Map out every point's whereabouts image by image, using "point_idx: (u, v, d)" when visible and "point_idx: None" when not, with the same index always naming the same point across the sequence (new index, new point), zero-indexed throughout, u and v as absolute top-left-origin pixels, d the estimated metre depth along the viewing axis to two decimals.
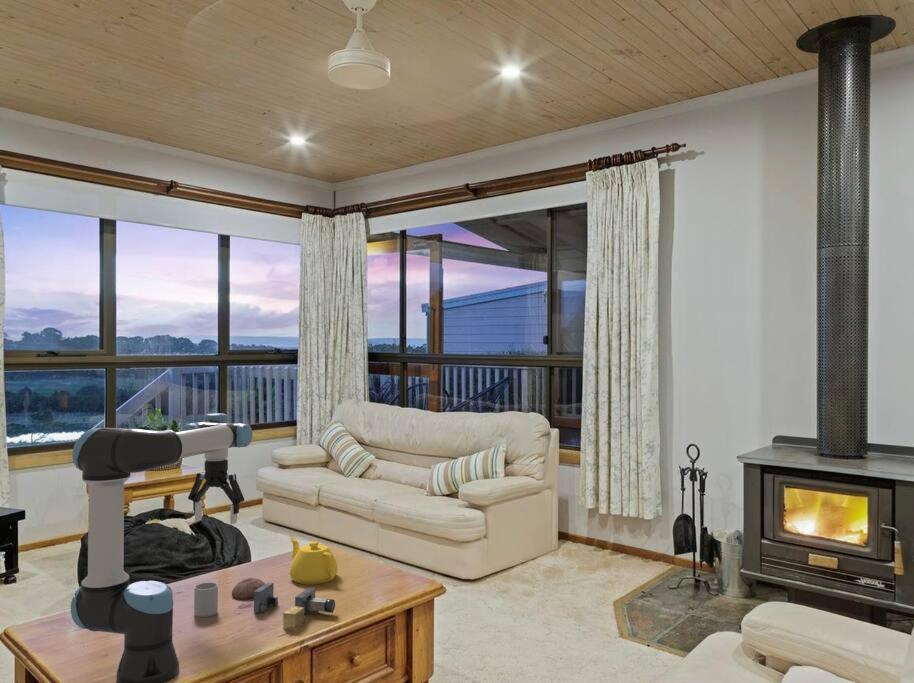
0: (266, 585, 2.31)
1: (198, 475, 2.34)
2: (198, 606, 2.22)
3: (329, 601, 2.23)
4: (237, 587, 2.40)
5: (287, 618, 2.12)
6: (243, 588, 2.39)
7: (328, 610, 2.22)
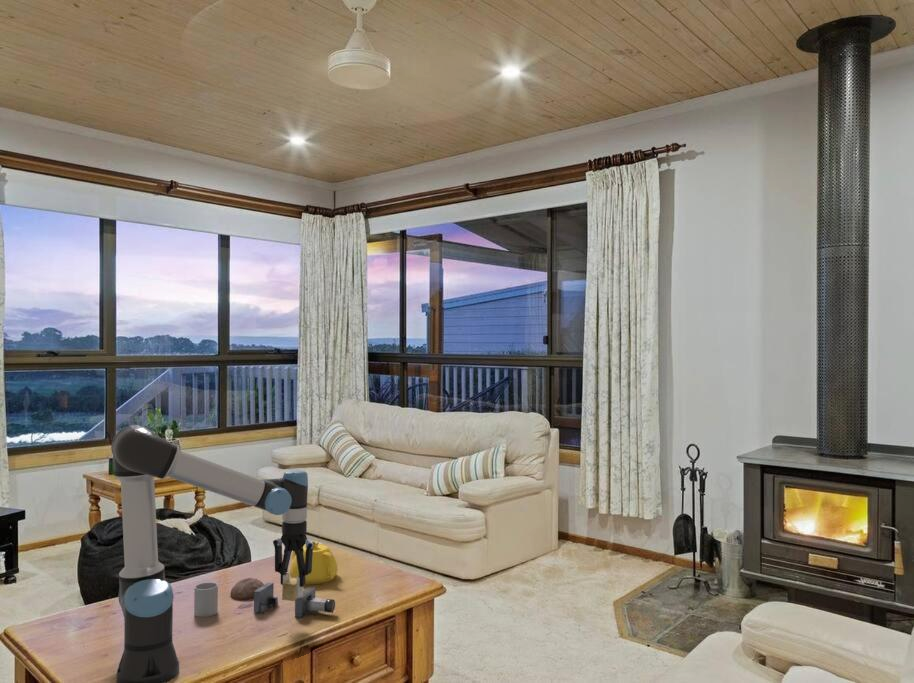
0: (266, 585, 2.31)
1: (275, 542, 2.15)
2: (198, 606, 2.22)
3: (329, 601, 2.23)
4: (236, 587, 2.40)
5: (286, 588, 2.12)
6: (242, 589, 2.39)
7: (328, 610, 2.22)
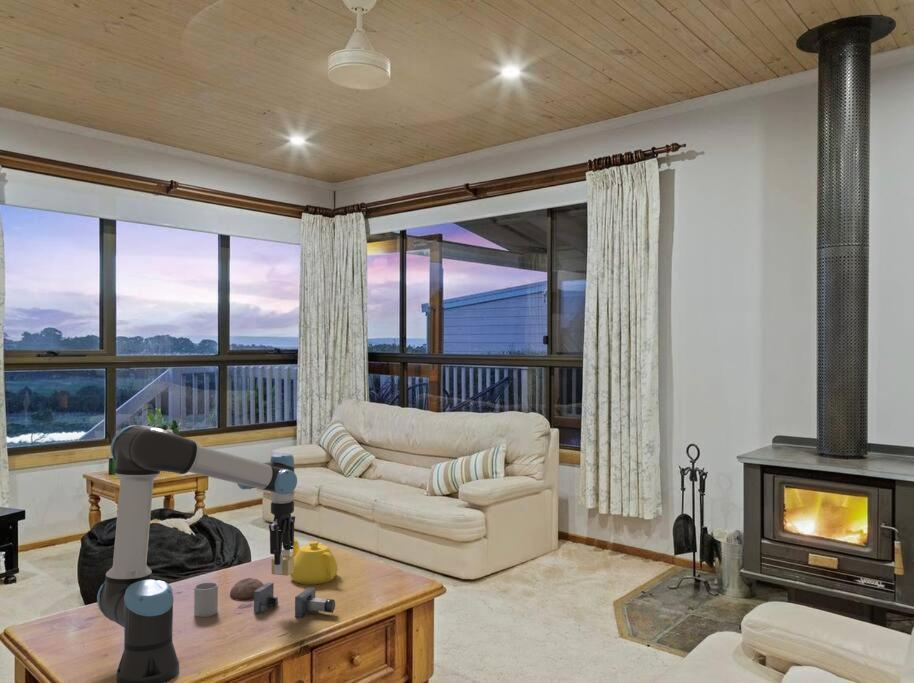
0: (266, 585, 2.31)
1: None
2: (198, 606, 2.22)
3: (329, 601, 2.23)
4: (235, 587, 2.40)
5: None
6: (242, 589, 2.39)
7: (328, 610, 2.22)
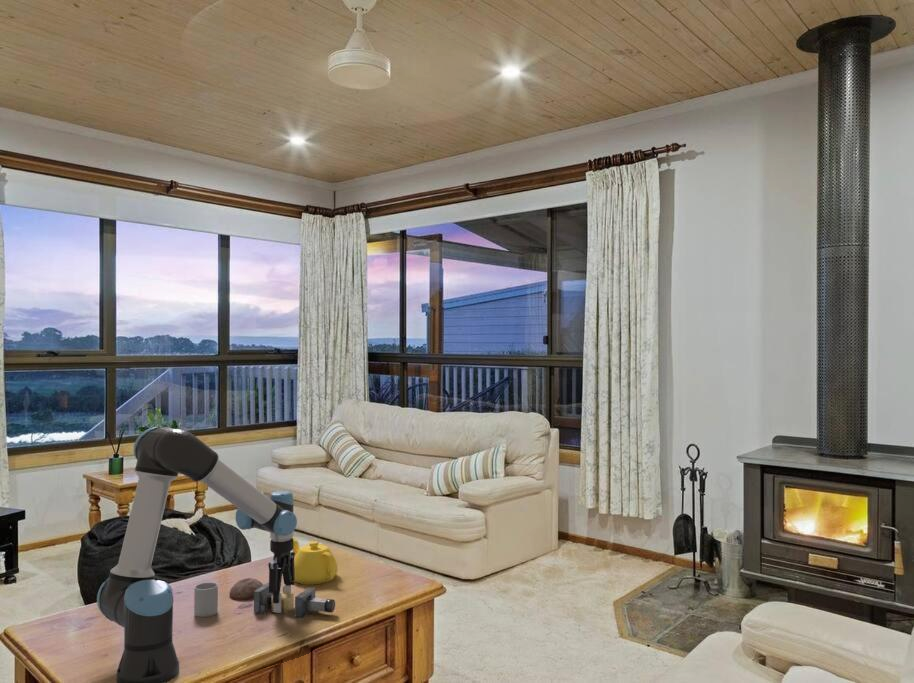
0: (266, 585, 2.31)
1: None
2: (198, 606, 2.22)
3: (329, 601, 2.23)
4: (235, 587, 2.40)
5: None
6: (241, 589, 2.39)
7: (328, 610, 2.22)
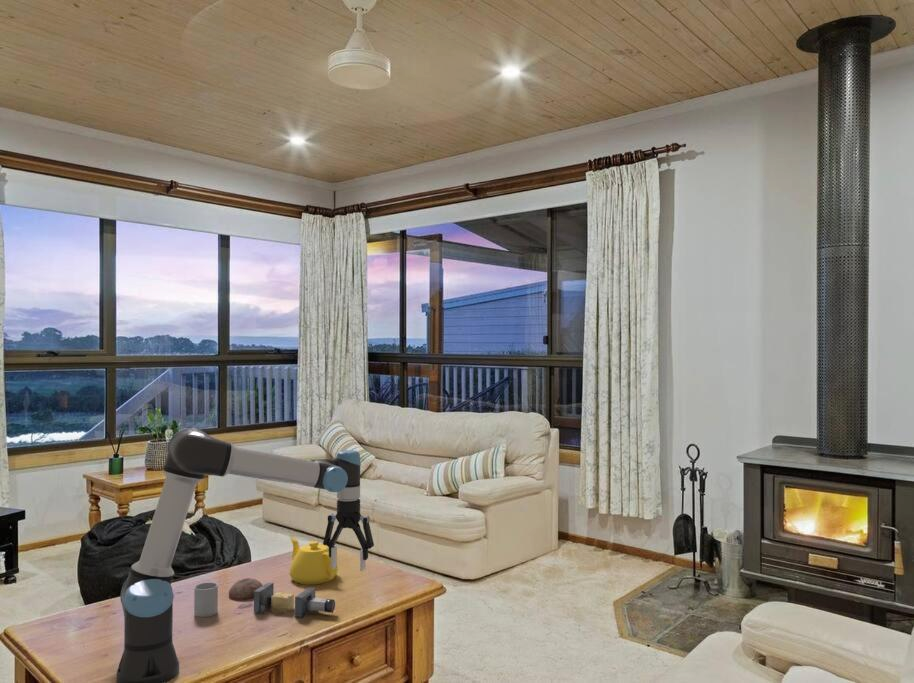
0: (266, 585, 2.31)
1: (329, 517, 2.23)
2: (198, 606, 2.22)
3: (329, 601, 2.23)
4: (234, 587, 2.40)
5: None
6: (240, 589, 2.39)
7: (328, 610, 2.22)
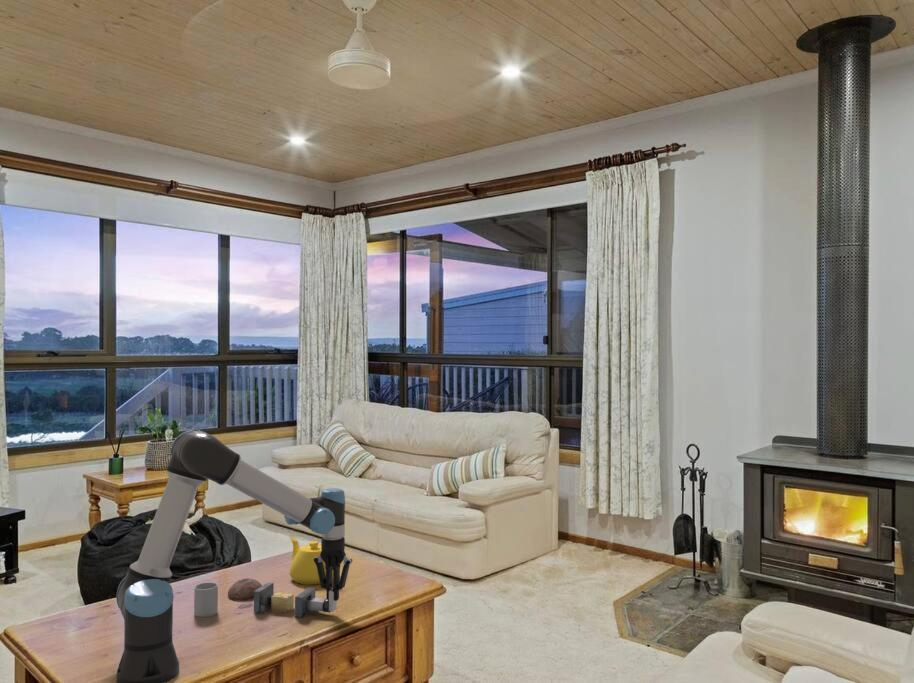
0: (266, 585, 2.31)
1: (315, 560, 2.24)
2: (198, 606, 2.22)
3: (327, 601, 2.23)
4: (233, 587, 2.40)
5: None
6: (239, 589, 2.38)
7: (326, 610, 2.22)
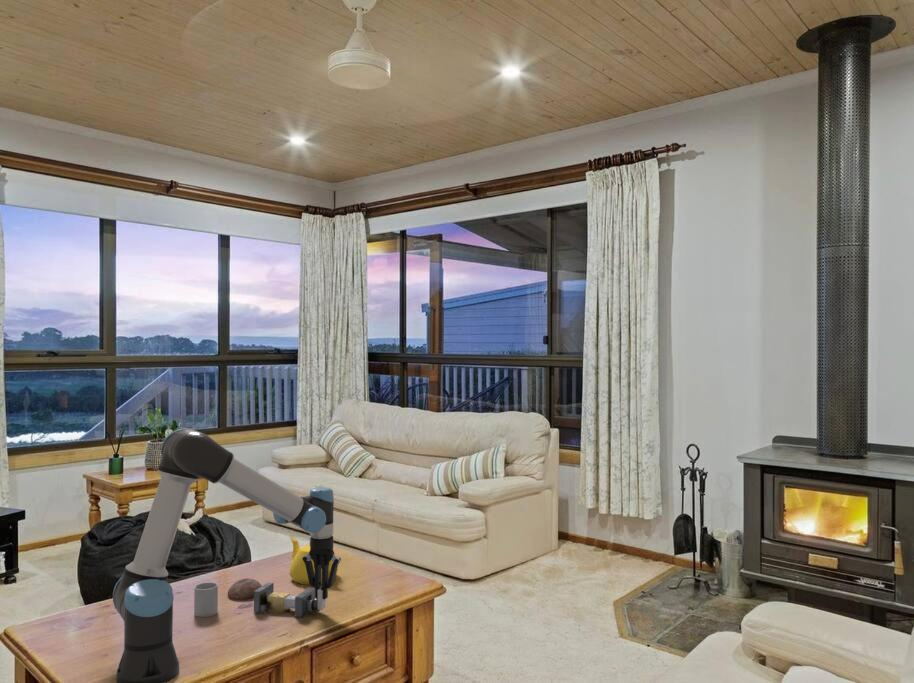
0: (266, 585, 2.31)
1: (304, 558, 2.25)
2: (198, 606, 2.22)
3: (316, 600, 2.24)
4: (233, 587, 2.40)
5: None
6: (239, 589, 2.38)
7: (315, 609, 2.23)
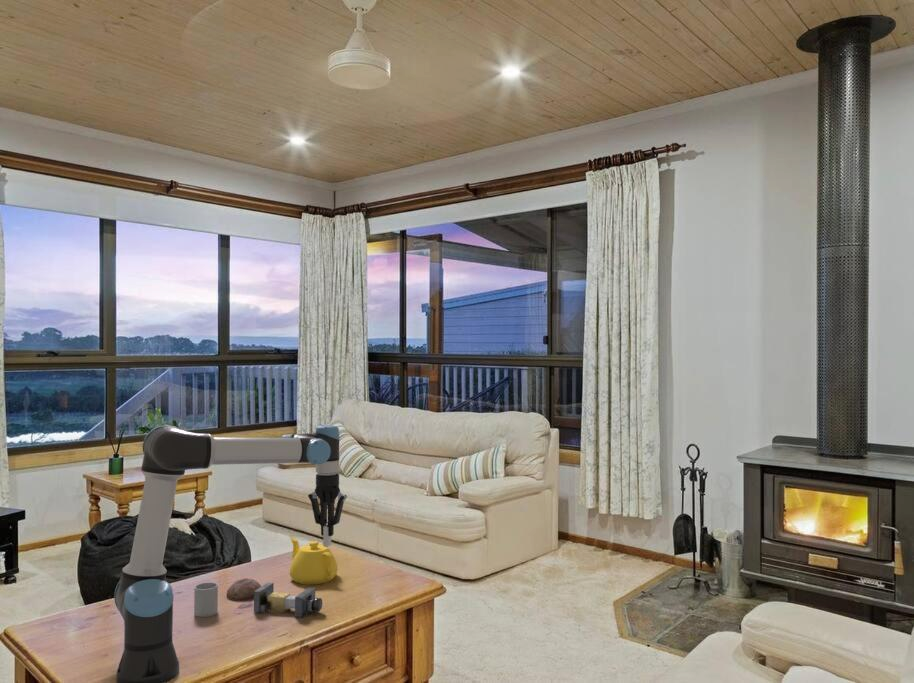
0: (266, 585, 2.31)
1: (310, 496, 2.25)
2: (198, 606, 2.22)
3: (316, 600, 2.24)
4: (232, 588, 2.40)
5: None
6: (238, 589, 2.38)
7: (315, 609, 2.23)
